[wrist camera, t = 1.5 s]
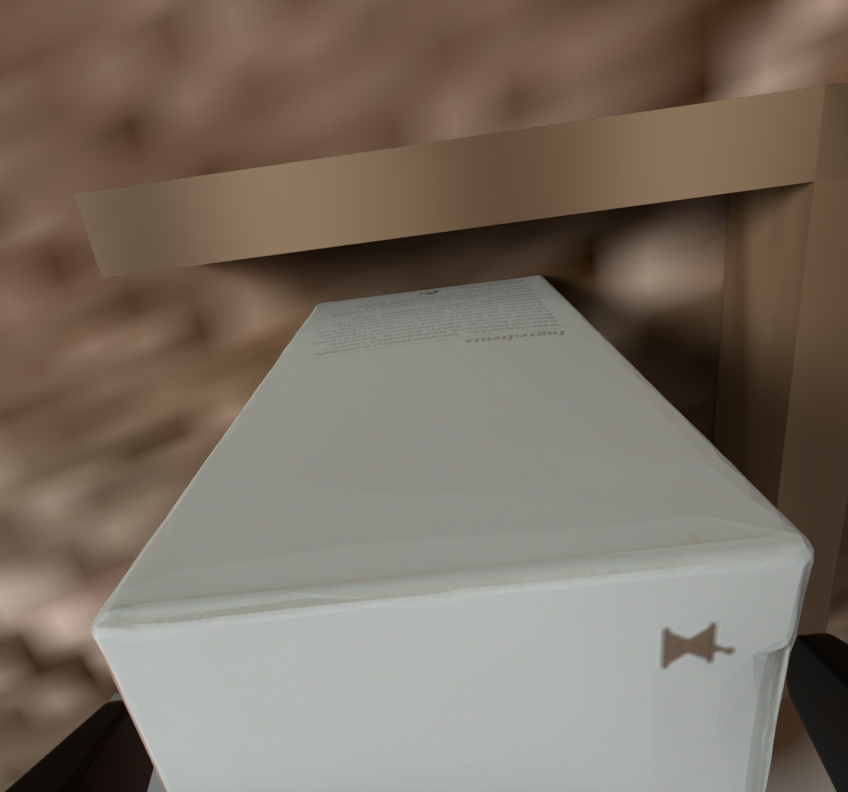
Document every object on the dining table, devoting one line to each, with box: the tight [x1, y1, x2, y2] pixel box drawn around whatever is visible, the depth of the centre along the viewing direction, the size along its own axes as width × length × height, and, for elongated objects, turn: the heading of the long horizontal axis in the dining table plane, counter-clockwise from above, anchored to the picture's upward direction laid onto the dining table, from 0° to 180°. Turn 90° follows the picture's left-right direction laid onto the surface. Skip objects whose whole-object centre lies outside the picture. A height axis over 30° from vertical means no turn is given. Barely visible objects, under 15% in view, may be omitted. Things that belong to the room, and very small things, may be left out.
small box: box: [90, 275, 814, 792], centre depth 10 cm, size 8×6×10 cm
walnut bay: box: [74, 82, 848, 696], centre depth 14 cm, size 14×14×3 cm
